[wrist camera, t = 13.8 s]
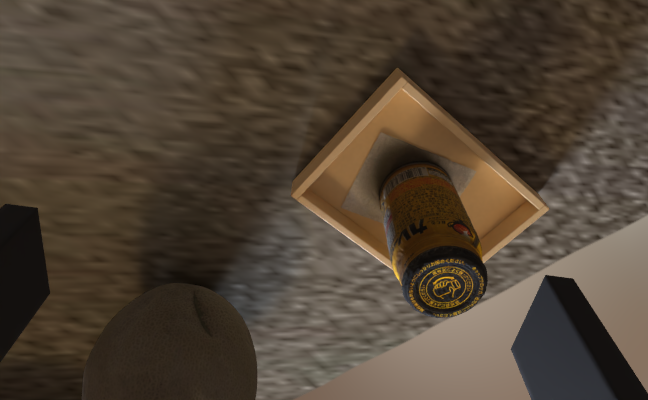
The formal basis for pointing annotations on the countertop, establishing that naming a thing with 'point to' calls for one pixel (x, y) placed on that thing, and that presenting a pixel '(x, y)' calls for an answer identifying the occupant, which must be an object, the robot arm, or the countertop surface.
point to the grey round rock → (173, 350)
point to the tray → (428, 134)
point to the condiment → (422, 225)
